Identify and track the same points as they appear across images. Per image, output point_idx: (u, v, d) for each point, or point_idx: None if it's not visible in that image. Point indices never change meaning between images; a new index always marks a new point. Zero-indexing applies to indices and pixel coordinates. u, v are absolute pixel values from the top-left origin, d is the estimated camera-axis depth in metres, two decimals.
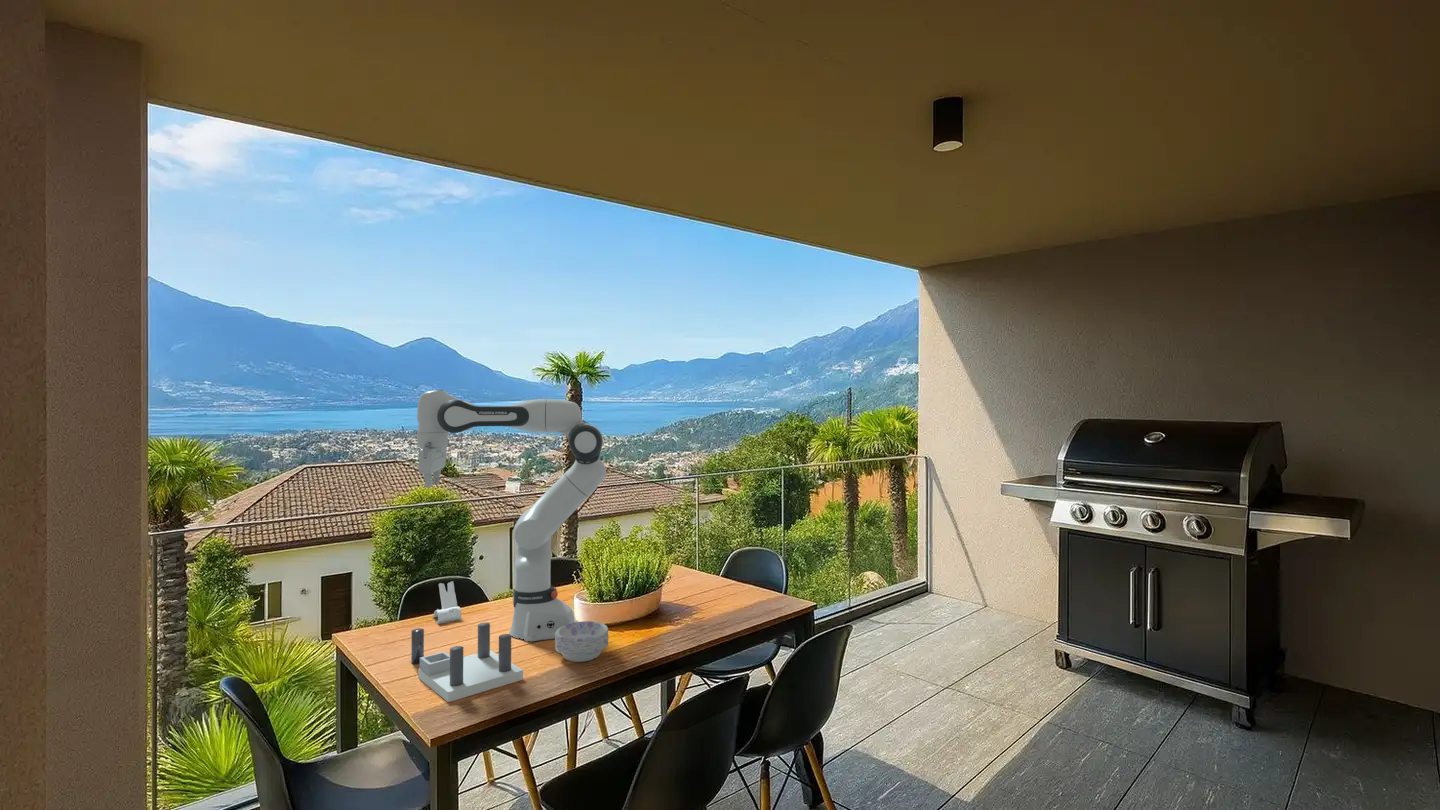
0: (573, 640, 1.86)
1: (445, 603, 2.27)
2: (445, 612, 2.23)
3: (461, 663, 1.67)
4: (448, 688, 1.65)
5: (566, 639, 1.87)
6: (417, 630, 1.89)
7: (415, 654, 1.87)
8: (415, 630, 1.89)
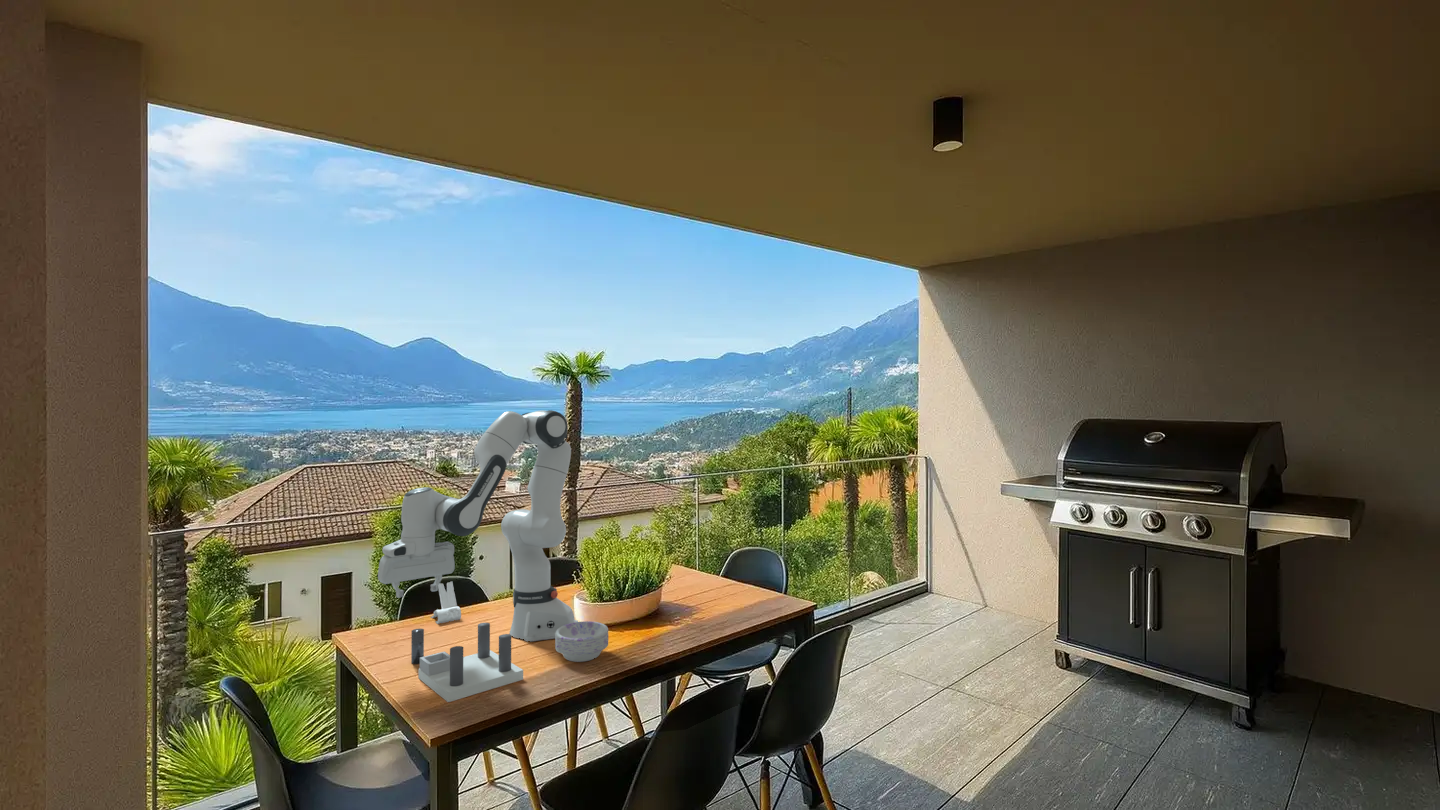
0: (573, 640, 1.86)
1: (444, 603, 2.27)
2: (445, 612, 2.23)
3: (461, 663, 1.67)
4: (448, 688, 1.65)
5: (566, 639, 1.87)
6: (417, 630, 1.89)
7: (415, 654, 1.87)
8: (415, 630, 1.89)
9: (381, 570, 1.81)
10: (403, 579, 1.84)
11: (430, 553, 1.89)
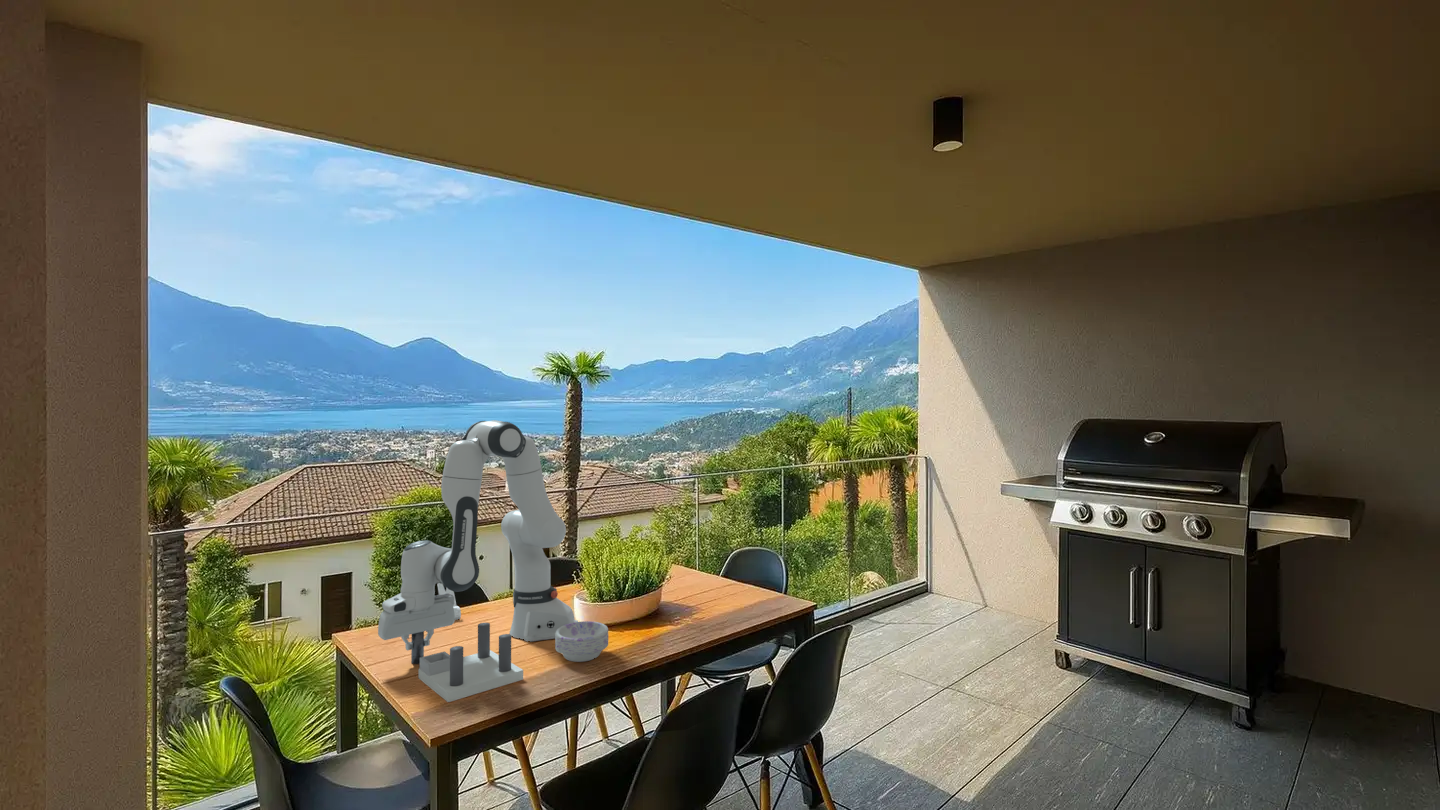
0: (573, 640, 1.86)
1: None
2: None
3: (461, 663, 1.67)
4: (448, 688, 1.65)
5: (566, 639, 1.87)
6: None
7: (415, 654, 1.87)
8: None
9: (381, 626, 1.81)
10: (403, 634, 1.84)
11: (430, 606, 1.89)
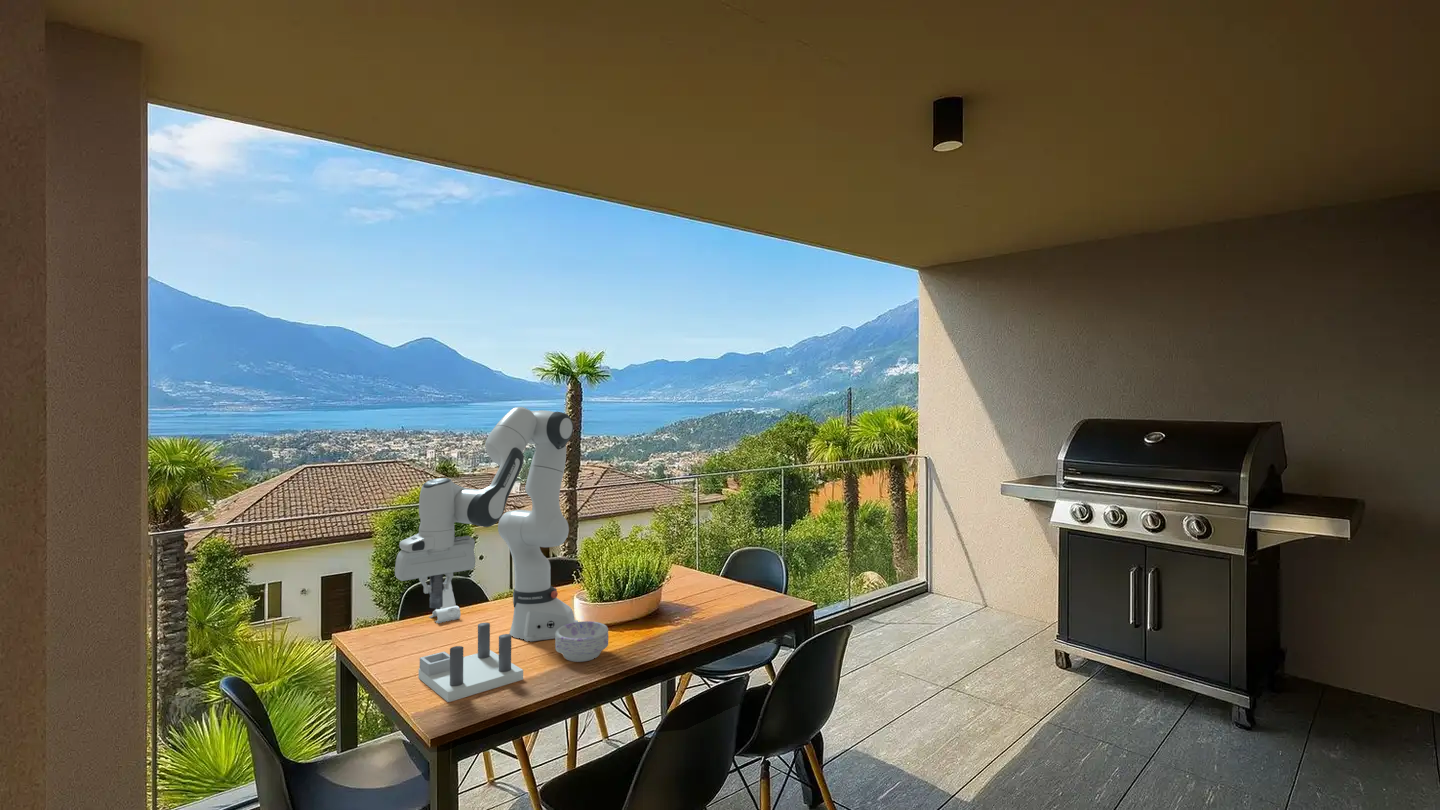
0: (573, 640, 1.86)
1: (443, 602, 2.28)
2: (444, 611, 2.23)
3: (461, 663, 1.67)
4: (448, 688, 1.65)
5: (566, 639, 1.87)
6: None
7: (433, 597, 1.76)
8: None
9: (398, 566, 1.70)
10: (421, 576, 1.73)
11: (449, 548, 1.78)
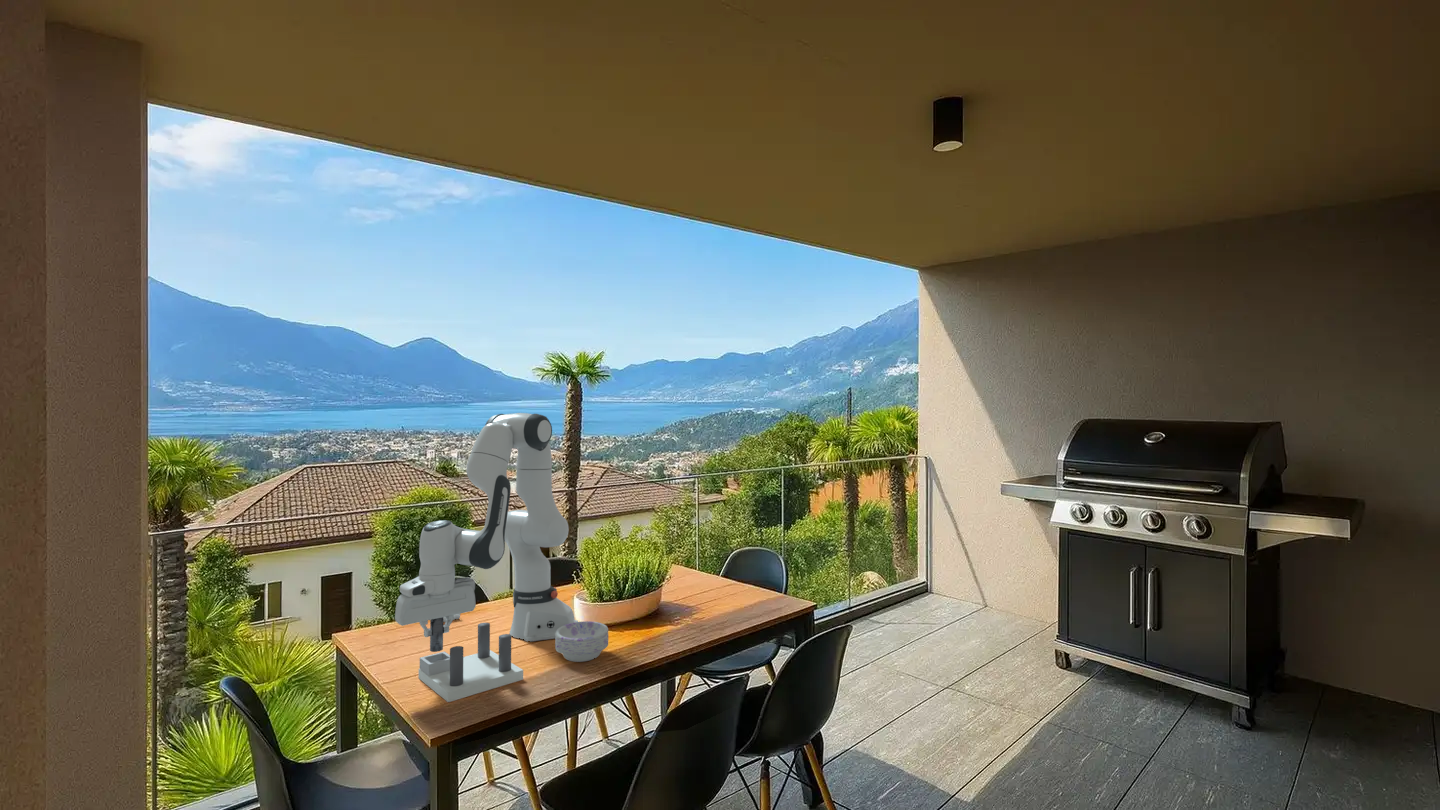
0: (573, 640, 1.86)
1: None
2: None
3: (461, 663, 1.67)
4: (448, 688, 1.65)
5: (566, 639, 1.87)
6: None
7: (434, 641, 1.76)
8: None
9: (398, 611, 1.70)
10: (422, 620, 1.73)
11: (450, 591, 1.78)
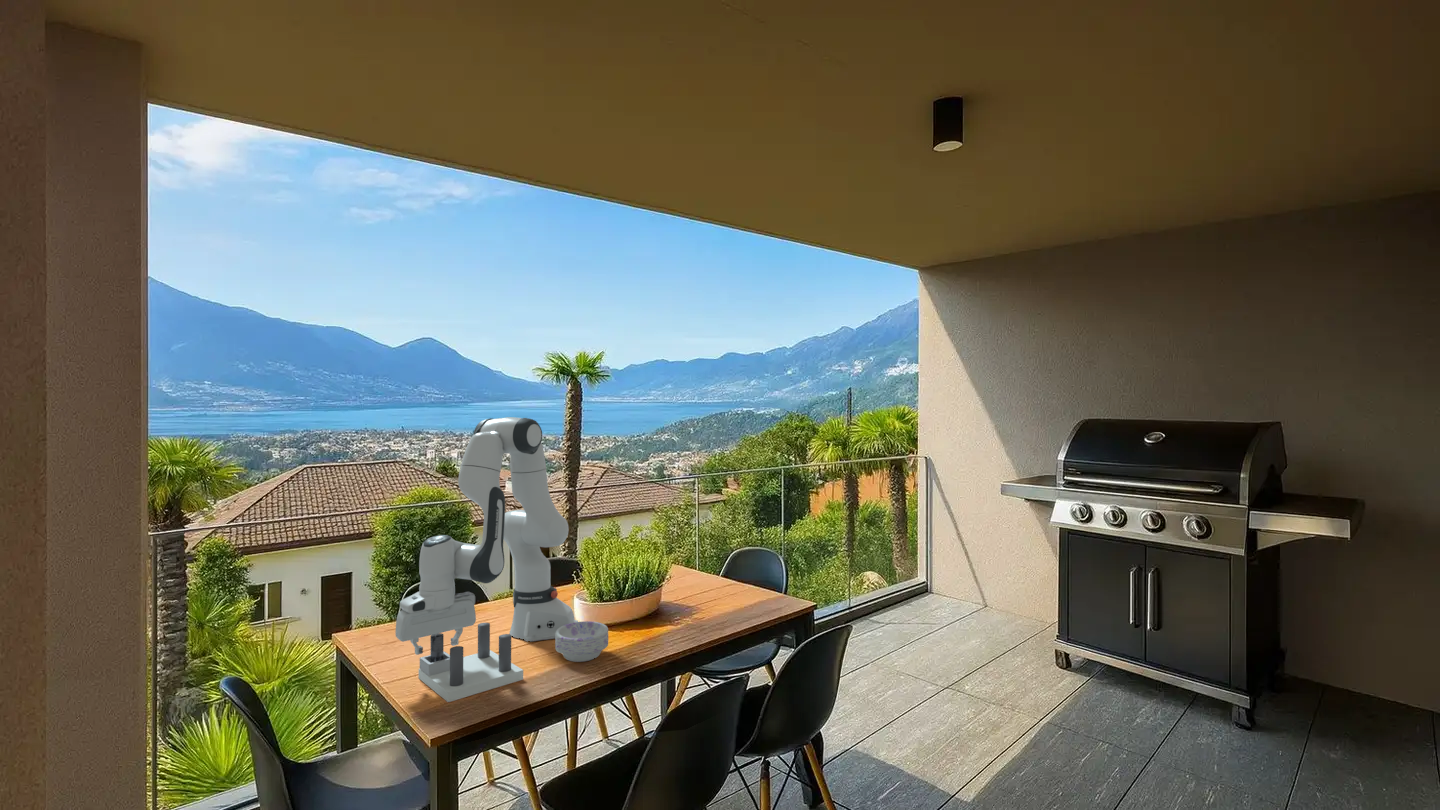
0: (573, 640, 1.86)
1: None
2: None
3: (461, 663, 1.67)
4: (448, 688, 1.65)
5: (566, 639, 1.87)
6: (436, 635, 1.77)
7: (434, 660, 1.76)
8: (434, 635, 1.77)
9: (398, 627, 1.70)
10: (422, 635, 1.73)
11: (450, 606, 1.78)
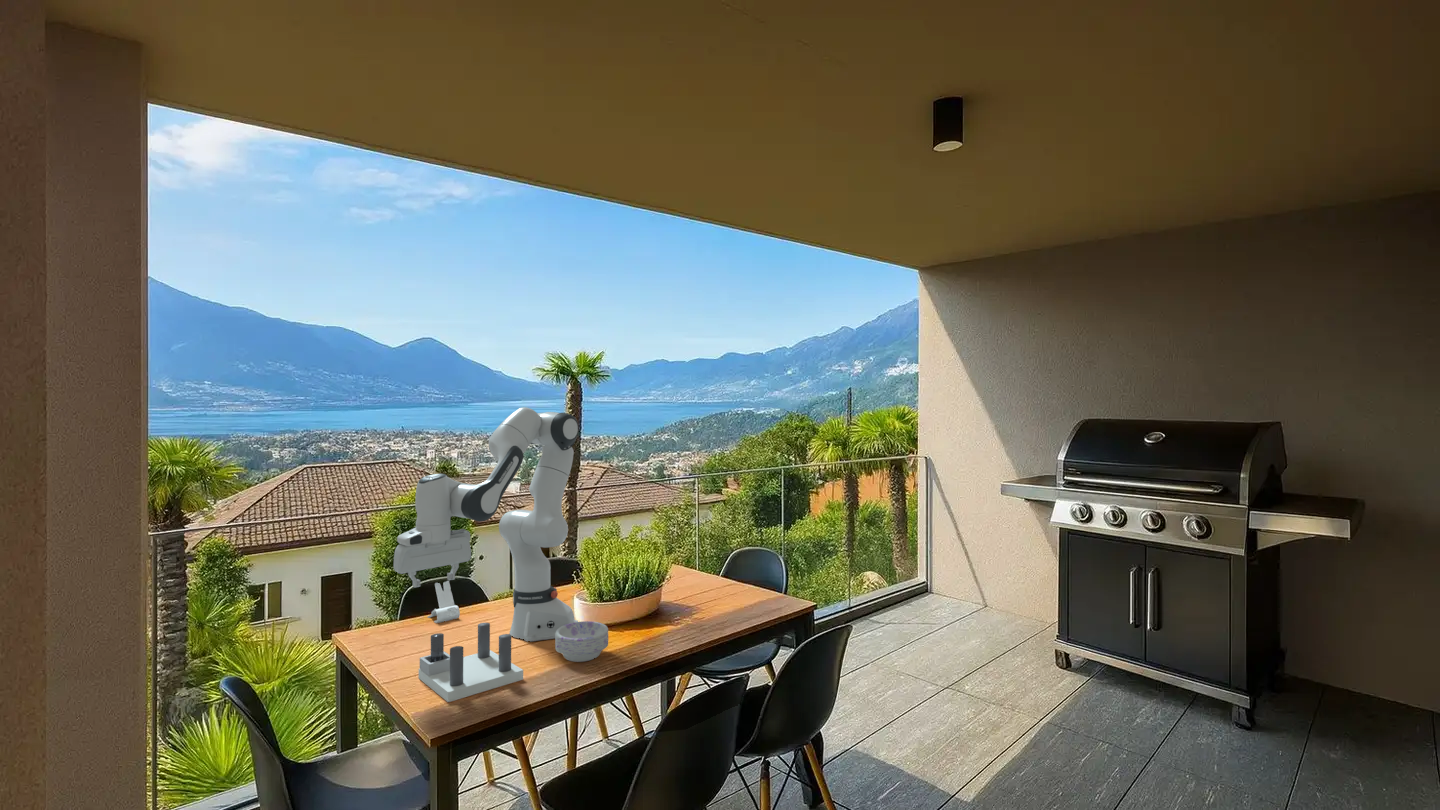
0: (573, 640, 1.86)
1: (442, 602, 2.28)
2: (444, 611, 2.24)
3: (461, 663, 1.67)
4: (448, 688, 1.65)
5: (566, 639, 1.87)
6: (436, 635, 1.77)
7: (434, 660, 1.76)
8: (434, 635, 1.77)
9: (396, 560, 1.76)
10: (420, 568, 1.79)
11: (446, 541, 1.84)
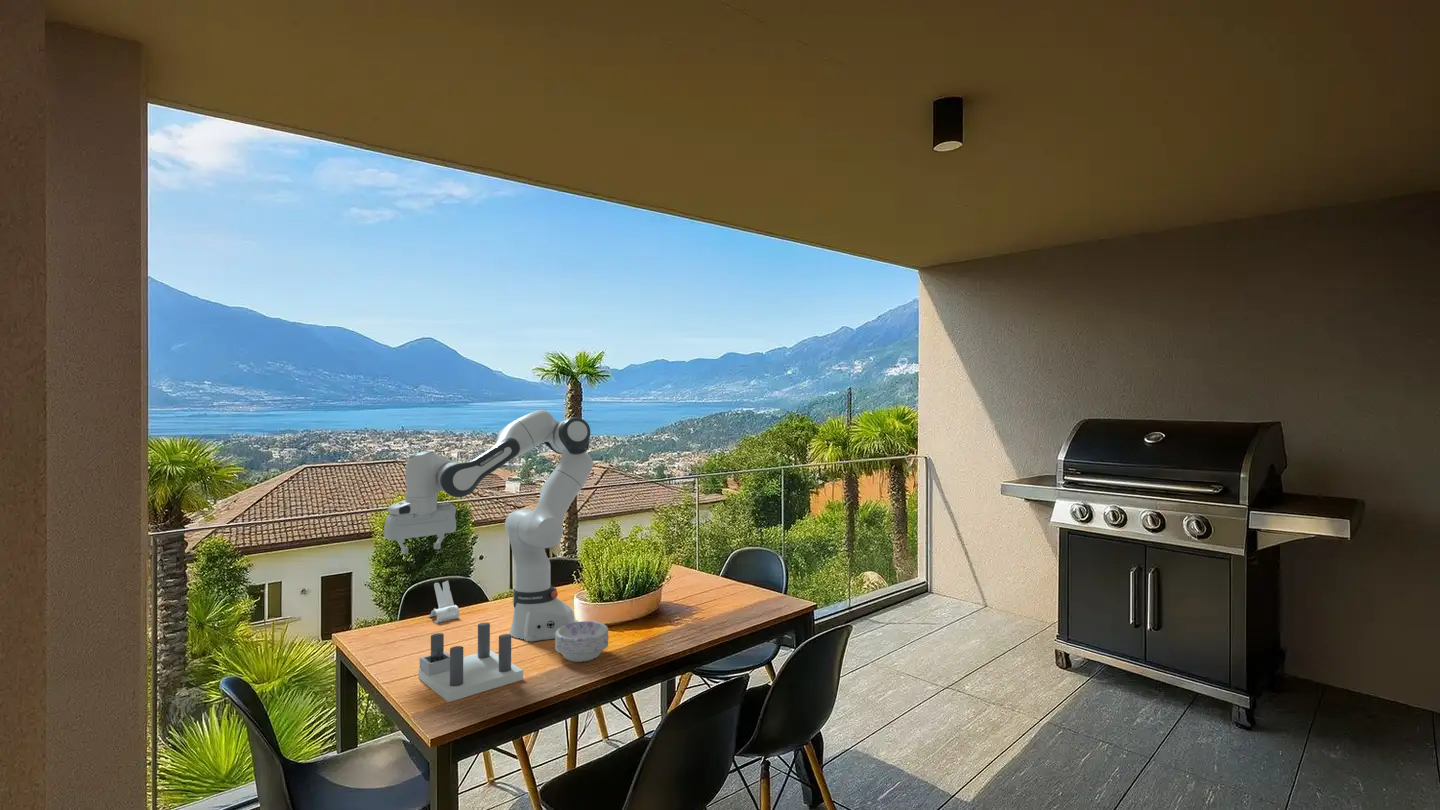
0: (573, 640, 1.86)
1: (441, 602, 2.28)
2: (443, 611, 2.24)
3: (461, 663, 1.67)
4: (448, 688, 1.65)
5: (566, 639, 1.87)
6: (437, 635, 1.77)
7: (434, 660, 1.76)
8: (434, 635, 1.77)
9: (387, 527, 1.93)
10: (408, 536, 1.96)
11: (433, 513, 2.01)
